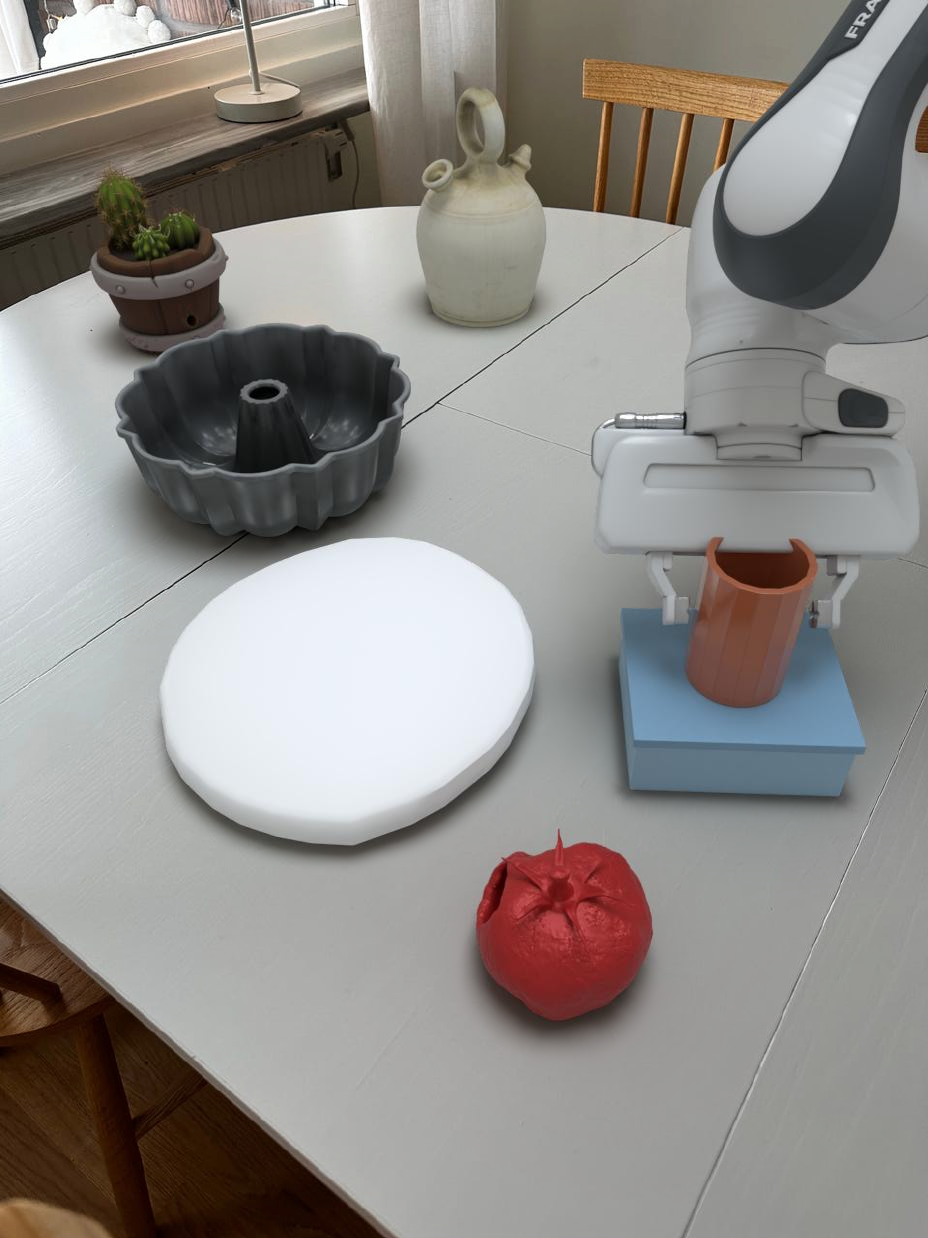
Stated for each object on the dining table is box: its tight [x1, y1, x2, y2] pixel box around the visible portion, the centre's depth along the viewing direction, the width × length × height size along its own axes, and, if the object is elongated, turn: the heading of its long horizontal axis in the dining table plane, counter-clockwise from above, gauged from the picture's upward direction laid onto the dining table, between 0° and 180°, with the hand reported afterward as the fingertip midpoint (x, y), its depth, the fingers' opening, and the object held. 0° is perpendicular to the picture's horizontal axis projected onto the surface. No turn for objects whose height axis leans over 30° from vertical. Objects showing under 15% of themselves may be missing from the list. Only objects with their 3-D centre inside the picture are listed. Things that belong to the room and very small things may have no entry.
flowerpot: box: [88, 160, 229, 356], centre depth 110 cm, size 14×15×20 cm
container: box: [618, 607, 867, 797], centre depth 69 cm, size 15×13×6 cm
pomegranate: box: [475, 828, 654, 1021], centre depth 55 cm, size 10×10×9 cm
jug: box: [415, 85, 547, 328], centre depth 113 cm, size 15×16×25 cm
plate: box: [158, 536, 537, 846], centre depth 71 cm, size 28×6×27 cm
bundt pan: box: [114, 322, 412, 538], centre depth 91 cm, size 26×26×10 cm
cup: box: [684, 537, 819, 708], centre depth 63 cm, size 7×7×10 cm
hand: (749, 627), depth 63 cm, fingers open, 8 cm apart
